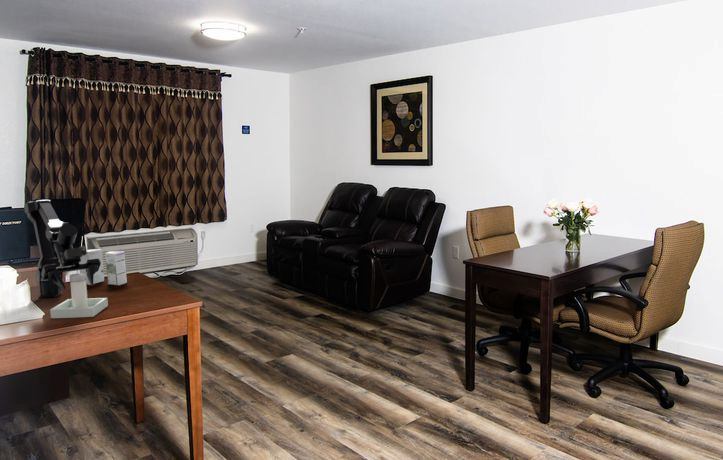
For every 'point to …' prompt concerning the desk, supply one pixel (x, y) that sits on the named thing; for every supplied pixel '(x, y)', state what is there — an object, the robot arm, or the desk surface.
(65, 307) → the tray
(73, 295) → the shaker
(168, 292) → the desk surface
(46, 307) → the desk surface
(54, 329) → the desk surface
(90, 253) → the skincare box
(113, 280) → the syrup box
